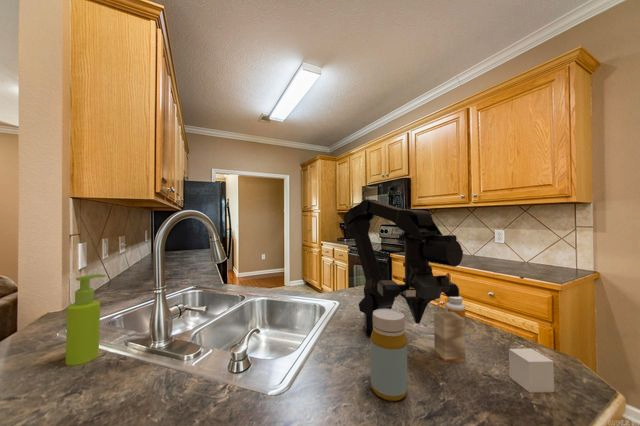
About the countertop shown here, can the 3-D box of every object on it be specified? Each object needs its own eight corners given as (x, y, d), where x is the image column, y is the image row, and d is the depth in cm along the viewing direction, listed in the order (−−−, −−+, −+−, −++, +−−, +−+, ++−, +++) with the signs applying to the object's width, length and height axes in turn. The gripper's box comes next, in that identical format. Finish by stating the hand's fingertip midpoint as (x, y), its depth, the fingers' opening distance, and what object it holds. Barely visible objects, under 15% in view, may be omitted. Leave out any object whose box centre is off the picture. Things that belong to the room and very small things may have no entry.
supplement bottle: (469, 331, 76) (468, 299, 76) (451, 331, 76) (450, 299, 76) (459, 324, 81) (459, 294, 82) (443, 324, 81) (442, 294, 82)
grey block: (529, 392, 49) (528, 361, 49) (509, 376, 54) (508, 348, 54) (554, 392, 49) (553, 361, 49) (531, 376, 54) (531, 348, 54)
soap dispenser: (108, 353, 63) (110, 274, 64) (72, 368, 57) (75, 279, 58) (96, 348, 66) (98, 272, 66) (60, 362, 59) (63, 277, 60)
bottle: (407, 383, 52) (406, 310, 52) (407, 406, 45) (406, 323, 46) (373, 376, 54) (372, 306, 55) (368, 397, 48) (368, 318, 48)
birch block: (444, 361, 60) (444, 319, 60) (434, 351, 65) (434, 312, 65) (465, 361, 60) (464, 319, 60) (453, 350, 65) (452, 311, 65)
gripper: (389, 266, 54) (390, 338, 54) (473, 266, 55) (474, 337, 55) (376, 258, 66) (376, 318, 65) (446, 258, 66) (447, 317, 66)
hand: (417, 322), depth 62 cm, fingers closed
